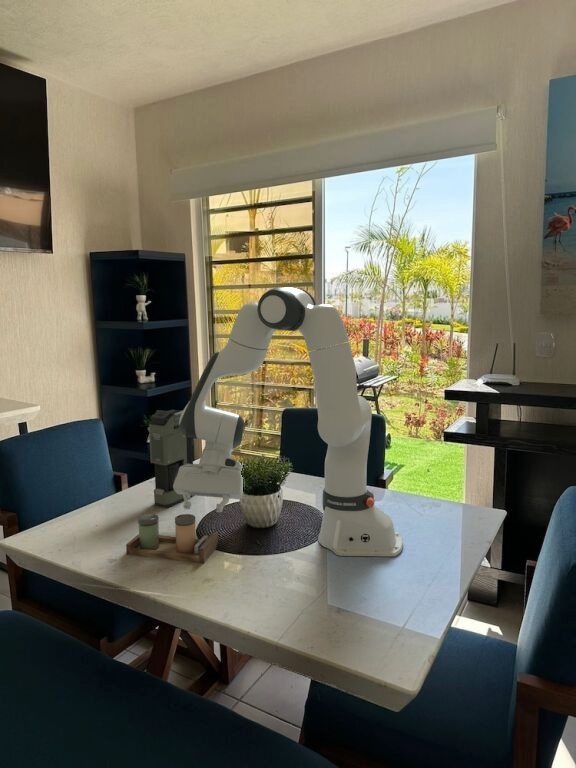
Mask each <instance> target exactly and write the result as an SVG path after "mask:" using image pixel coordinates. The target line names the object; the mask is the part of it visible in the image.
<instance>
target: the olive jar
mask: <svg viewBox="0 0 576 768" xmlns="http://www.w3.org/2000/svg"><path fill="white" fill-rule="evenodd" d="M159 521H160V517H159V515H157V514H144V515H141V516H139V517H138V519H137V523H138V534H139V544H140V549H148V550H157V549H158V548H159V535H160V529H159V528H160V527H159Z"/></svg>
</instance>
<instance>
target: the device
mask: <svg viewBox="0 0 576 768" xmlns="http://www.w3.org/2000/svg"><path fill="white" fill-rule="evenodd" d="M183 410H184V409H183ZM183 410H179V409H168V410H161V409H157V410H155V413H154V414H153V415H151V416H150V418H149V420H150V422H149V424H148V429H149V430H148V431H149V452H150V454H149V455H150V464H154V481H155V482H154V483H155V485H154V486H155V488H154V490H153V497H154V498H153V499H154V501H153V502H154V506H155V507H159V508H163V509H168V508H172V507H175V506H176V505H178V504H180V503H182V501H183V502H185V501H184V498H183V495H182V494H177V493H176V492H175V490H174V488H173V484H174V482H175V479H176V477H177V475H178V471H179V468H180V467H181V466H182V465H185V464H187V463H188V464H194V462H193V461H194V460H193V459H194V458H193V456H194V455H193V448H194V445H193V438H189V437H186V436H185V435H184V434H183V433H182V431H181V430H180V428H179V420H180V416H181V414H182V412H183ZM193 497H195V496H194V495H190V498H193ZM190 498H188V500H189V499H190Z"/></svg>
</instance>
